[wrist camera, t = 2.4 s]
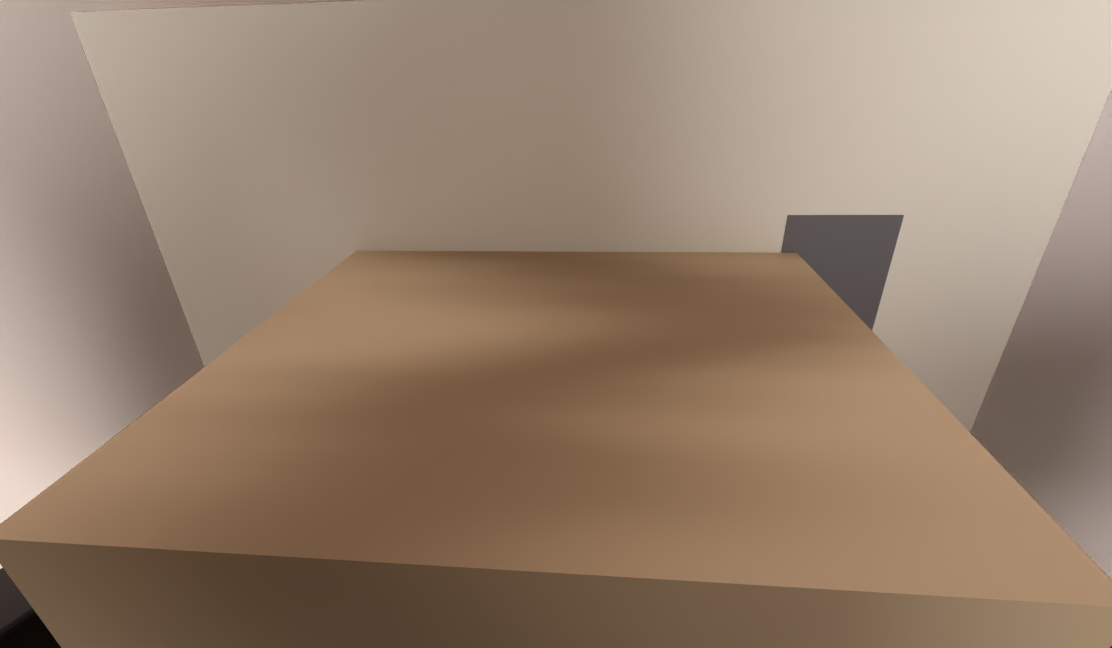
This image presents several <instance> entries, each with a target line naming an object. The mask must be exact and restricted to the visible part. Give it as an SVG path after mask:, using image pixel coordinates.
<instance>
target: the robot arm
mask: <svg viewBox="0 0 1112 648" xmlns="http://www.w3.org/2000/svg"><path fill="white" fill-rule="evenodd" d="M0 648H61V646H60V645H59V644H58V642H57V641H56V640H55V638H54V637H53V635H52V634H51V633H50V631H49V630H48V629H47V627H46V626H45V624H44V623H43V622H42V620H41V619H40V618H39V616H38V615H37V613H36V612H35V611H34V609H33V608H32V607H31V605H30V604H29V602H28V601H27V600H26V598H25V597H24V596H23V594H22V593H21V591H20V590H19V589H18V587H17V586H16V585H15V583H14V582H13V580H12V579H11V578H10V576H9V575H8V574H7V572H6V571H5V569H4V568H1V569H0ZM1110 648H1112V645H1111V647H1110Z"/></svg>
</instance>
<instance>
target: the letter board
mask: <svg viewBox="0 0 1112 648" xmlns="http://www.w3.org/2000/svg"><path fill="white" fill-rule="evenodd" d="M69 13H70V16H71V18H72V21H73V24H74V26H75V29H76V32H77V34H78V37H79V39H80V42H81V45H82V47H83V50H84V53H85V55H86V58H87V60H88V63H89V66H90V68H91V71H92V74H93V76H94V79H95V81H96V84H97V87H98V89H99V92H100V95H101V97H102V100H103V102H104V105H105V108H106V110H107V113H108V116H109V118H110V121H111V123H112V126H113V129H114V131H115V134H116V137H117V139H118V142H119V144H120V147H121V150H122V152H123V155H124V158H125V160H126V163H127V165H128V168H129V171H130V173H131V176H132V179H133V181H134V184H135V186H136V189H137V192H138V194H139V197H140V200H141V202H142V205H143V207H144V210H145V213H146V215H147V218H148V221H149V223H150V226H151V228H152V231H153V234H154V236H155V239H156V242H157V244H158V247H159V249H160V252H161V255H162V257H163V260H164V263H165V265H166V268H167V270H168V273H169V276H170V278H171V281H172V284H173V286H174V289H175V291H176V294H177V297H178V299H179V302H180V305H181V307H182V310H183V312H184V315H185V318H186V320H187V323H188V326H189V328H190V331H191V333H192V336H193V339H194V341H195V344H196V347H197V349H198V352H199V354H200V357H201V360H202V362H203V365H204V367H205V366H207V365H208V364H209V363H211V362H212V361H213V360H215V359H216V358H217V357H218V356H220V355H221V354H222V353H224V352H225V351H226V350H228V349H229V348H230V347H231V346H233V345H234V344H235V343H237V342H238V341H239V340H241V339H242V338H243V337H244V336H246V335H247V334H248V333H250V332H251V331H252V330H254V329H255V328H256V327H258V326H259V325H260V324H261V323H263V322H264V321H265V320H267V319H268V318H269V317H271V316H272V315H273V314H274V313H276V312H277V311H278V310H280V309H281V308H282V307H284V306H285V305H286V304H287V303H289V302H290V301H291V300H293V299H294V298H295V297H297V296H298V295H299V294H300V293H302V292H303V291H304V290H306V289H307V288H308V287H310V286H311V285H312V284H313V283H315V282H316V281H317V280H319V279H320V278H321V277H323V276H324V275H325V274H326V273H328V272H329V271H330V270H332V269H333V268H334V267H336V266H337V265H338V264H339V263H341V262H342V261H343V260H345V259H346V258H347V257H349V256H350V255H351V254H353V253H354V252H355V251H524V252H726V253H798V254H799V255H800V257H801V258H802V259H803V260H804V261H805V262H806V263H807V264H808V265H809V266H810V267H811V268H812V269H813V270H814V271H815V272H816V273H817V274H818V275H819V276H820V277H821V278H822V279H823V280H824V281H825V283H826V284H827V285H828V286H829V287H830V288H831V289H832V290H833V291H834V292H835V293H836V294H837V295H838V296H839V297H840V298H841V299H842V300H843V301H844V302H845V303H846V304H847V305H848V306H849V307H850V308H851V310H852V311H853V312H854V313H855V314H856V315H857V316H858V317H859V318H860V319H861V320H862V321H863V322H864V323H865V324H866V325H867V326H868V327H869V328H870V329H871V330H872V331H873V332H874V333H875V334H876V336H877V337H878V338H879V339H880V340H881V341H882V342H883V343H884V344H885V345H886V346H887V347H888V348H889V349H890V350H891V351H892V352H893V353H894V354H895V355H896V356H897V357H898V358H899V359H900V360H901V361H902V363H903V364H904V365H905V366H906V367H907V368H908V369H909V370H910V371H911V372H912V373H913V374H914V375H915V376H916V377H917V378H918V379H919V380H920V381H921V382H922V383H923V384H924V385H925V386H926V387H927V388H928V390H929V391H930V392H931V393H932V394H933V395H934V396H935V397H936V398H937V399H938V400H939V401H940V402H941V403H942V404H943V405H944V406H945V407H946V408H947V409H948V410H949V411H950V412H951V413H952V414H953V416H954V417H955V418H956V419H957V420H958V421H959V422H960V423H961V424H962V425H963V426H964V427H965V428H966V429H967V430H968V431H969V432H971V430H972V427H973V425H974V422H975V420H976V417H977V415H978V413H979V410H980V408H981V405H982V403H983V400H984V398H985V396H986V393H987V391H988V388H989V386H990V383H991V381H992V379H993V376H994V374H995V371H996V369H997V366H998V364H999V361H1000V359H1001V357H1002V354H1003V352H1004V349H1005V347H1006V344H1007V342H1008V340H1009V337H1010V335H1011V332H1012V330H1013V327H1014V325H1015V323H1016V320H1017V318H1018V315H1019V313H1020V310H1021V308H1022V306H1023V303H1024V301H1025V298H1026V296H1027V293H1028V291H1029V289H1030V286H1031V284H1032V281H1033V279H1034V276H1035V274H1036V272H1037V269H1038V267H1039V264H1040V262H1041V259H1042V257H1043V254H1044V252H1045V250H1046V247H1047V245H1048V242H1049V240H1050V237H1051V235H1052V233H1053V230H1054V228H1055V225H1056V223H1057V220H1058V218H1059V216H1060V213H1061V211H1062V208H1063V206H1064V203H1065V201H1066V199H1067V196H1068V194H1069V191H1070V189H1071V186H1072V184H1073V182H1074V179H1075V177H1076V174H1077V172H1078V169H1079V167H1080V165H1081V162H1082V160H1083V157H1084V155H1085V152H1086V150H1087V148H1088V145H1089V143H1090V140H1091V138H1092V135H1093V133H1094V130H1095V128H1096V126H1097V123H1098V121H1099V118H1100V116H1101V113H1102V111H1103V109H1104V106H1105V104H1106V101H1107V99H1108V96H1109V94H1110V92H1111V89H1112V0H361V1H335V2H310V3H285V4H260V5H235V6H209V7H184V8H159V9H134V10H108V11H83V12H69Z"/></svg>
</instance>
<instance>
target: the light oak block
mask: <svg viewBox="0 0 1112 648" xmlns="http://www.w3.org/2000/svg"><path fill="white" fill-rule="evenodd" d="M0 564H1V565H2V567H3V568H4V569H5V571H6V572H7V574H8V575H9V576H10V578H11V579H12V580H13V582H14V583H15V585H16V586H17V587H18V589H19V590H20V591H21V593H22V594H23V596H24V597H25V598H26V600H27V601H28V602H29V604H30V605H31V607H32V608H33V609H34V611H35V612H36V613H37V615H38V616H39V618H40V619H41V620H42V622H43V623H44V624H45V626H46V627H47V629H48V630H49V631H50V633H51V634H52V635H53V637H54V638H55V640H56V641H57V642H58V644H59V645H60V646H61V648H1110V647H1111V645H1112V580H1111V579H1110V578H1109V577H1108V576H1107V574H1106V573H1105V572H1104V571H1103V570H1102V569H1101V568H1100V567H1099V566H1098V565H1097V564H1096V563H1095V562H1094V561H1093V560H1092V559H1091V558H1090V557H1089V556H1088V555H1087V554H1086V553H1085V552H1084V551H1083V550H1082V549H1081V547H1080V546H1079V545H1078V544H1077V543H1076V542H1075V541H1074V540H1073V539H1072V538H1071V537H1070V536H1069V535H1068V534H1067V533H1066V532H1065V531H1064V530H1063V529H1062V528H1061V527H1060V526H1059V525H1058V524H1057V523H1056V521H1055V520H1054V519H1053V518H1052V517H1051V516H1050V515H1049V514H1048V513H1047V512H1046V511H1045V510H1044V509H1043V508H1042V507H1041V506H1040V505H1039V504H1038V503H1037V502H1036V501H1035V500H1034V499H1033V498H1032V497H1031V496H1030V494H1029V493H1028V492H1027V491H1026V490H1025V489H1024V488H1023V487H1022V486H1021V485H1020V484H1019V483H1018V482H1017V481H1016V480H1015V479H1014V478H1013V477H1012V476H1011V475H1010V474H1009V473H1008V472H1007V471H1006V470H1005V469H1004V467H1003V466H1002V465H1001V464H1000V463H999V462H998V461H997V460H996V459H995V458H994V457H993V456H992V455H991V454H990V453H989V452H988V451H987V450H986V449H985V448H984V447H983V446H982V445H981V444H980V443H979V441H978V440H977V439H976V438H975V437H974V436H973V435H972V434H971V433H970V432H969V431H968V430H967V429H966V428H965V427H964V426H963V425H962V424H961V423H960V422H959V421H958V420H957V419H956V418H955V417H954V416H953V414H952V413H951V412H950V411H949V410H948V409H947V408H946V407H945V406H944V405H943V404H942V403H941V402H940V401H939V400H938V399H937V398H936V397H935V396H934V395H933V394H932V393H931V392H930V391H929V390H928V388H927V387H926V386H925V385H924V384H923V383H922V382H921V381H920V380H919V379H918V378H917V377H916V376H915V375H914V374H913V373H912V372H911V371H910V370H909V369H908V368H907V367H906V366H905V365H904V364H903V363H902V361H901V360H900V359H899V358H898V357H897V356H896V355H895V354H894V353H893V352H892V351H891V350H890V349H889V348H888V347H887V346H886V345H885V344H884V343H883V342H882V341H881V340H880V339H879V338H878V337H877V336H876V334H875V333H874V332H873V331H872V330H871V329H870V328H869V327H868V326H867V325H866V324H865V323H864V322H863V321H862V320H861V319H860V318H859V317H858V316H857V315H856V314H855V313H854V312H853V311H852V310H851V308H850V307H849V306H848V305H847V304H846V303H845V302H844V301H843V300H842V299H841V298H840V297H839V296H838V295H837V294H836V293H835V292H834V291H833V290H832V289H831V288H830V287H829V286H828V285H827V284H826V283H825V281H824V280H823V279H822V278H821V277H820V276H819V275H818V274H817V273H816V272H815V271H814V270H813V269H812V268H811V267H810V266H809V265H808V264H807V263H806V262H805V261H804V260H803V259H802V258H801V257H800V255H799V254H798V253H726V252H524V251H355V252H354V253H353V254H351V255H350V256H349V257H347V258H346V259H345V260H343V261H342V262H341V263H339V264H338V265H337V266H336V267H334V268H333V269H332V270H330V271H329V272H328V273H326V274H325V275H324V276H323V277H321V278H320V279H319V280H317V281H316V282H315V283H313V284H312V285H311V286H310V287H308V288H307V289H306V290H304V291H303V292H302V293H300V294H299V295H298V296H297V297H295V298H294V299H293V300H291V301H290V302H289V303H287V304H286V305H285V306H284V307H282V308H281V309H280V310H278V311H277V312H276V313H274V314H273V315H272V316H271V317H269V318H268V319H267V320H265V321H264V322H263V323H261V324H260V325H259V326H258V327H256V328H255V329H254V330H252V331H251V332H250V333H248V334H247V335H246V336H244V337H243V338H242V339H241V340H239V341H238V342H237V343H235V344H234V345H233V346H231V347H230V348H229V349H228V350H226V351H225V352H224V353H222V354H221V355H220V356H218V357H217V358H216V359H215V360H213V361H212V362H211V363H209V364H208V365H207V366H205V367H204V368H203V369H202V370H200V371H199V372H198V373H196V374H195V375H194V376H192V377H191V378H190V379H189V380H187V381H186V382H185V383H183V384H182V385H181V386H179V387H178V388H177V389H176V390H174V391H173V392H172V393H170V394H169V395H168V396H166V397H165V398H164V399H163V400H161V401H160V402H159V403H157V404H156V405H155V406H153V407H152V408H151V409H149V410H148V411H147V412H146V413H144V414H143V415H142V416H140V417H139V418H138V419H136V420H135V421H134V422H133V423H131V424H130V425H129V426H127V427H126V428H125V429H123V430H122V431H121V432H120V433H118V434H117V435H116V436H114V437H113V438H112V439H110V440H109V441H108V442H107V443H105V444H104V445H103V446H101V447H100V448H99V449H97V450H96V451H95V452H94V453H92V454H91V455H90V456H88V457H87V458H86V459H84V460H83V461H82V462H81V463H79V464H78V465H77V466H75V467H74V468H73V469H71V470H70V471H69V472H68V473H66V474H65V475H64V476H62V477H61V478H60V479H58V480H57V481H56V482H54V483H53V484H52V485H51V486H49V487H48V488H47V489H45V490H44V491H43V492H41V493H40V494H39V495H38V496H36V497H35V498H34V499H32V500H31V501H30V502H28V503H27V504H26V505H25V506H23V507H22V508H21V509H19V510H18V511H17V512H15V513H14V514H13V515H12V516H10V517H9V518H8V519H6V520H5V521H4V522H2V523H1V524H0Z"/></svg>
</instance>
